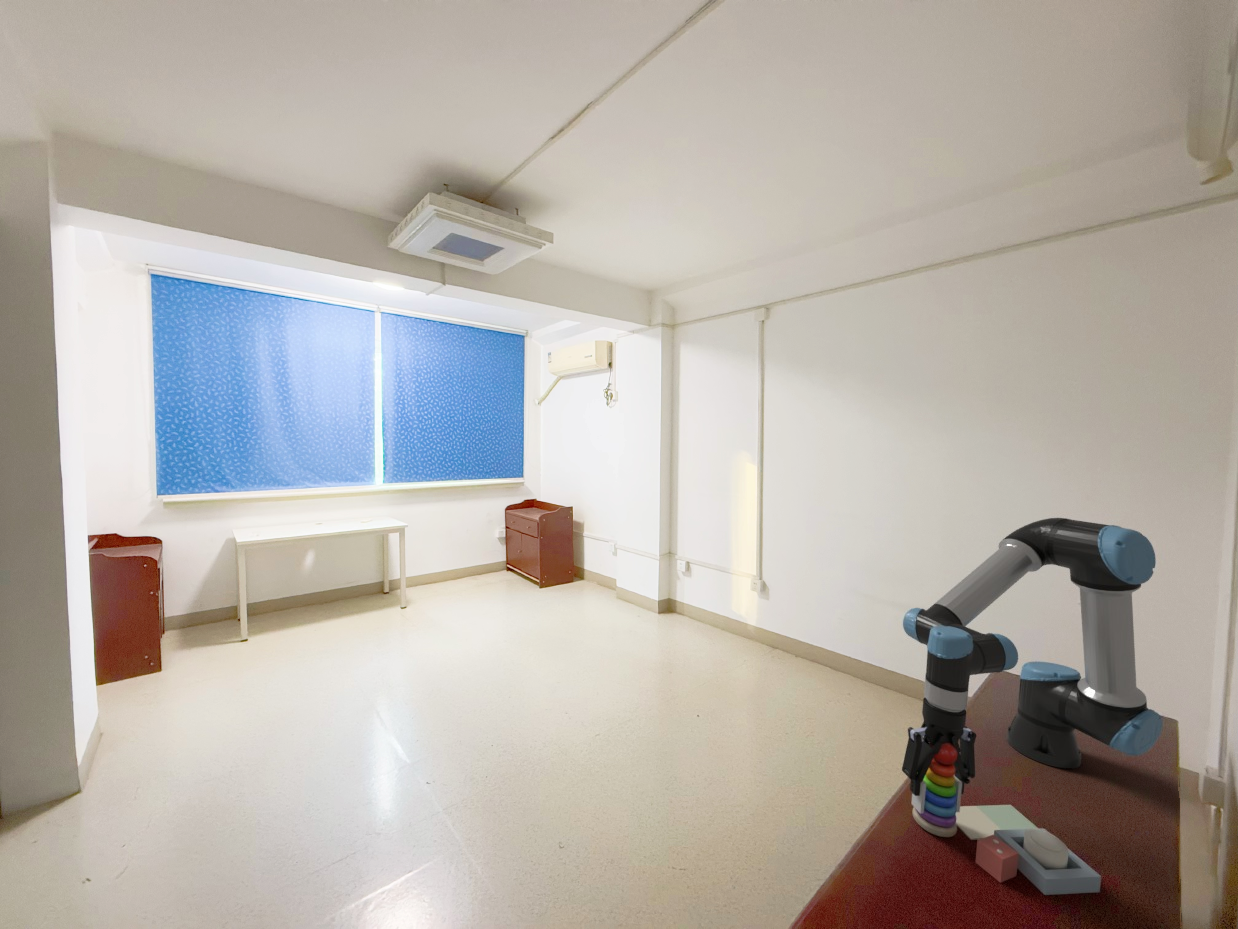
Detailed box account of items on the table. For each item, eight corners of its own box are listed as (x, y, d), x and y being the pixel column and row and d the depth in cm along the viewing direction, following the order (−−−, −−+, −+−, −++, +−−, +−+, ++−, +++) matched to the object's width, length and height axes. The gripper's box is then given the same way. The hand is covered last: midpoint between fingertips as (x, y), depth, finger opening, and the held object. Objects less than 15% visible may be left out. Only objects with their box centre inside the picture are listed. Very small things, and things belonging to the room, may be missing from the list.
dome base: (1042, 842, 101) (1043, 828, 101) (1099, 892, 90) (1101, 876, 90) (992, 844, 100) (994, 830, 100) (1044, 895, 89) (1046, 879, 89)
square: (975, 807, 110) (975, 805, 110) (1009, 838, 102) (1009, 837, 102) (939, 808, 109) (940, 807, 109) (970, 840, 101) (970, 838, 101)
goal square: (1010, 806, 111) (1010, 804, 111) (1046, 837, 102) (1046, 835, 102) (975, 807, 110) (975, 805, 110) (1009, 838, 102) (1009, 837, 102)
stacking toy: (940, 844, 99) (948, 754, 98) (903, 815, 107) (910, 732, 105) (965, 833, 102) (973, 746, 101) (928, 806, 110) (935, 724, 109)
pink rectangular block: (991, 856, 97) (993, 834, 97) (1016, 876, 93) (1018, 852, 92) (975, 862, 95) (977, 839, 95) (1000, 882, 91) (1002, 859, 91)
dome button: (1043, 847, 98) (1045, 825, 98) (1075, 875, 92) (1078, 852, 92) (1013, 848, 98) (1016, 826, 98) (1044, 877, 91) (1047, 853, 91)
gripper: (974, 693, 108) (965, 793, 109) (887, 693, 106) (879, 796, 107) (1004, 712, 100) (994, 820, 102) (911, 713, 98) (902, 823, 100)
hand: (935, 807), depth 104 cm, fingers closed on stacking toy, 7 cm apart
